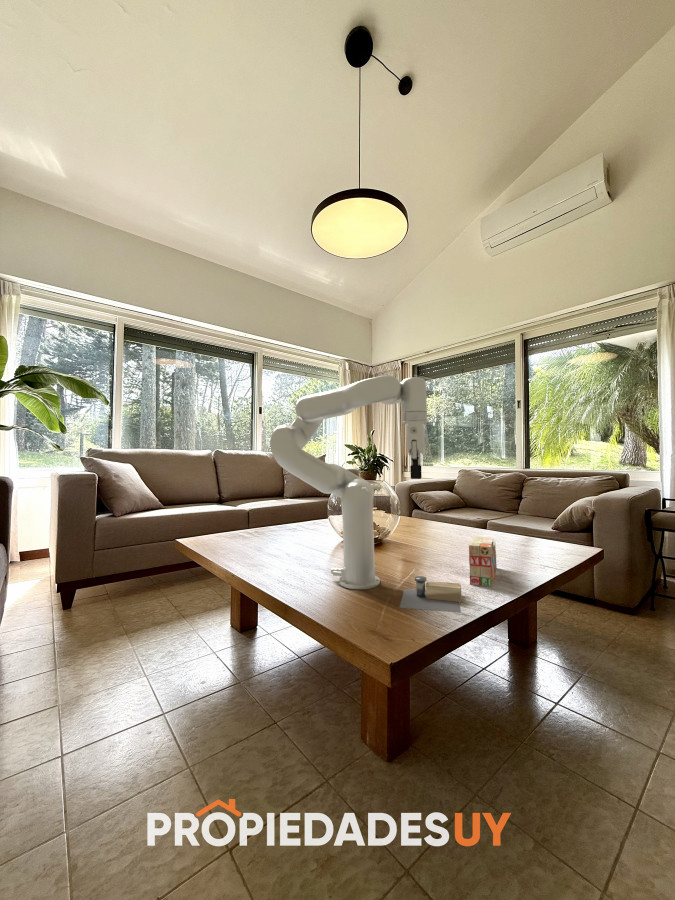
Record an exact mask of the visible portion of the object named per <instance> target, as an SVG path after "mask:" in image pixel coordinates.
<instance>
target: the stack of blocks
mask: <svg viewBox="0 0 675 900" xmlns="http://www.w3.org/2000/svg"><path fill="white" fill-rule="evenodd" d="M496 549H497V548H496V541H494V537H484V536H483V537H481V536H473V538H472V539H471V541H470V542H469V544H468V554H469V555H468V557H469V558H468V563H469V564H468V565H469V585H471V586H480V587H488V588H493V585H494V581H495V575H496V572H497V566H498V565H497V550H496Z"/></svg>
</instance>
